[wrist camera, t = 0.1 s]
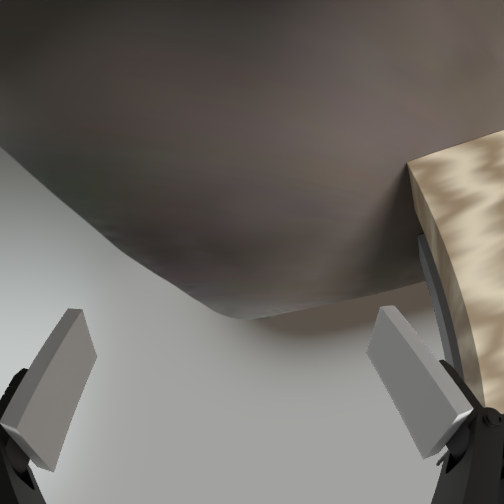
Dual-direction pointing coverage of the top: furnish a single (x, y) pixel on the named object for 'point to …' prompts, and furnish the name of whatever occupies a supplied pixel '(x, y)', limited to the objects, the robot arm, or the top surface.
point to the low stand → (440, 306)
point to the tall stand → (469, 251)
